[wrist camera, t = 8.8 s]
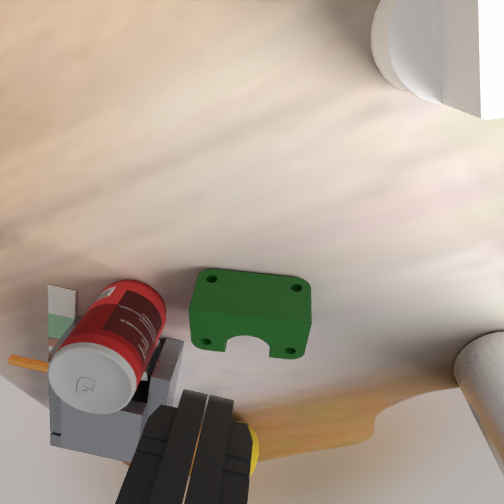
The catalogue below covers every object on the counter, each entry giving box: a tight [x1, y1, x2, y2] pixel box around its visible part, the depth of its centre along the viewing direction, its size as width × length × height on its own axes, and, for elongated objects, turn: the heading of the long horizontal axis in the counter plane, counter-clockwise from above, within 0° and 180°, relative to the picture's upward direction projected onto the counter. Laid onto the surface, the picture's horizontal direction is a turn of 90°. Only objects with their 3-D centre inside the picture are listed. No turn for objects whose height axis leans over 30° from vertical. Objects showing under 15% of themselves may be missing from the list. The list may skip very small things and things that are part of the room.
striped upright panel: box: [48, 285, 76, 352], centre depth 46 cm, size 3×11×1 cm, turn 167°
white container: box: [371, 0, 504, 119], centre depth 24 cm, size 9×9×12 cm
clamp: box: [189, 269, 312, 359], centre depth 40 cm, size 12×6×9 cm, turn 79°
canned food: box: [47, 280, 166, 414], centre depth 39 cm, size 8×8×11 cm
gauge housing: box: [49, 317, 184, 463], centre depth 45 cm, size 12×14×8 cm
